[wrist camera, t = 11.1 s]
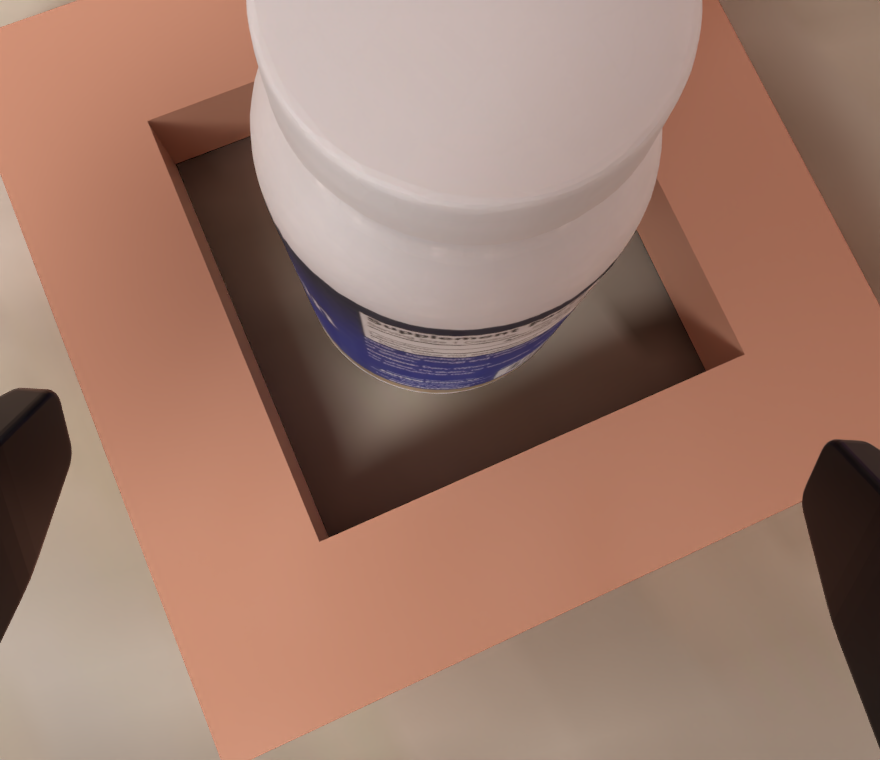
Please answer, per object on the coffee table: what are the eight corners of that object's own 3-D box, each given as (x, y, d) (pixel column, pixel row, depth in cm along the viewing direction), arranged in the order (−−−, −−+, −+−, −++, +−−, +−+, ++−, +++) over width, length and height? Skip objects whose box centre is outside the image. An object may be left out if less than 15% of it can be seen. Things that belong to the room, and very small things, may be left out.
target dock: (886, 441, 18) (947, 433, 16) (247, 739, 16) (225, 771, 14) (596, -118, 20) (617, -189, 18) (1, 95, 18) (-49, 44, 16)
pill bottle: (303, 156, 18) (187, -267, 8) (552, 147, 18) (727, -270, 9) (312, 407, 17) (195, 267, 7) (574, 393, 17) (798, 240, 8)
